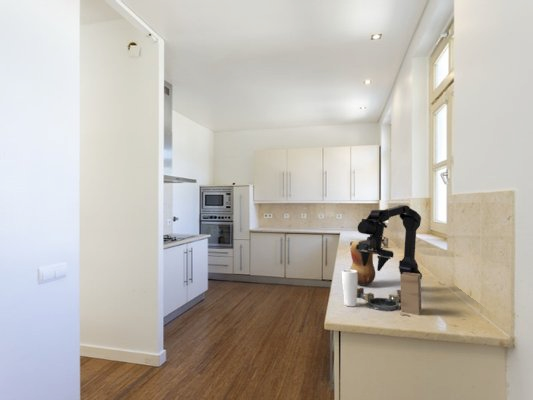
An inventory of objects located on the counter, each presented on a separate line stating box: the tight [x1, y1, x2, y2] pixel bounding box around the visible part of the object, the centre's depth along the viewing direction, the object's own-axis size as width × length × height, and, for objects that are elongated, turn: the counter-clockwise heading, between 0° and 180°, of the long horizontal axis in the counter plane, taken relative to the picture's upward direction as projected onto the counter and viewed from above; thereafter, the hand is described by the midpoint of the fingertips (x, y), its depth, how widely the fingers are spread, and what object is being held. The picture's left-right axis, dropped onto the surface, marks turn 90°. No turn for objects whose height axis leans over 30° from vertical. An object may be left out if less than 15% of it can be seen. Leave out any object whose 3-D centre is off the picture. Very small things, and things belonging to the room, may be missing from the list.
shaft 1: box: [357, 287, 375, 303], centre depth 141 cm, size 8×4×4 cm, turn 24°
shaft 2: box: [388, 289, 401, 304], centre depth 137 cm, size 8×4×4 cm, turn 124°
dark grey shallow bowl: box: [366, 297, 401, 312], centre depth 131 cm, size 13×13×2 cm
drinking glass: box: [341, 269, 359, 307], centre depth 133 cm, size 7×7×15 cm
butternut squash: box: [350, 239, 376, 286], centre depth 166 cm, size 14×13×25 cm
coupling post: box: [399, 272, 422, 316], centre depth 124 cm, size 6×6×15 cm
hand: (371, 268), depth 142 cm, fingers open, 9 cm apart
